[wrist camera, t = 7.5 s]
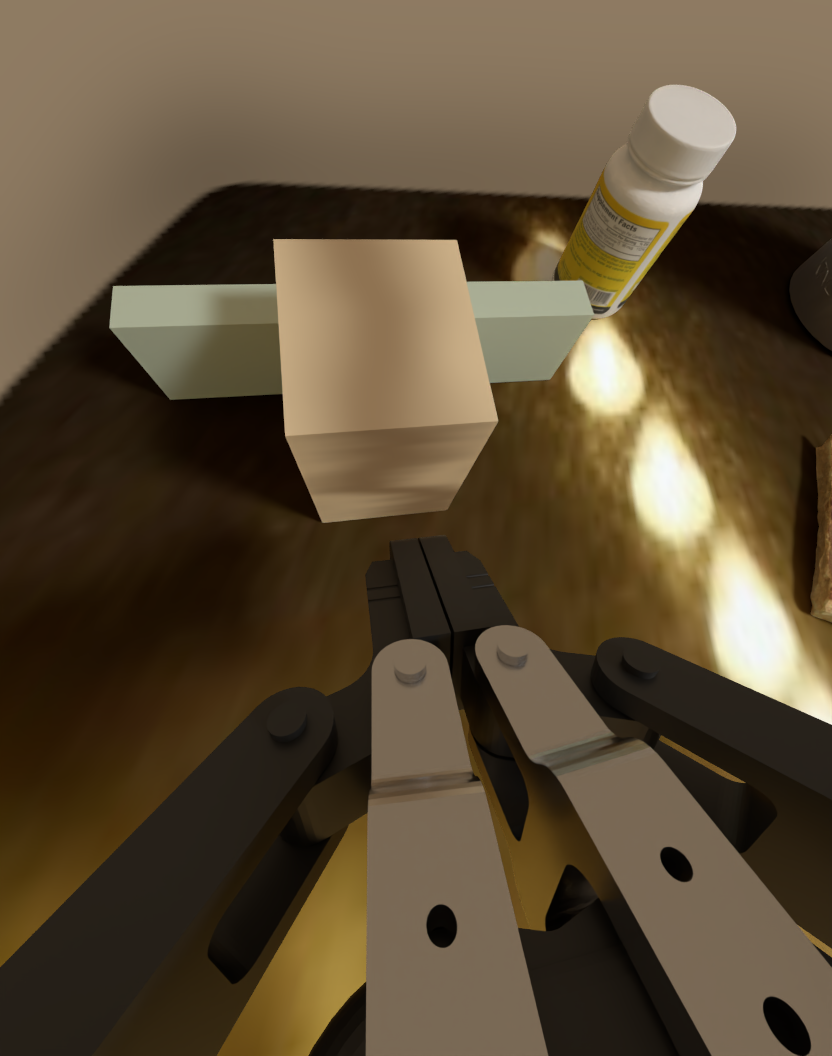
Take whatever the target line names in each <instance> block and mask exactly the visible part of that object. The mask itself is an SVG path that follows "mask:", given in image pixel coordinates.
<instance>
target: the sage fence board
mask: <svg viewBox="0 0 832 1056" xmlns="http://www.w3.org/2000/svg"><path fill="white" fill-rule="evenodd" d="M467 286H468V291H469V295H470V300H471V304H472V308H473V313H474V317H475V321H476V326H477V330H478V335H479V339H480V343H481V348H482V352H483V356H484V361H485V365H486V370H487V374H488V378H489V383H497V382H516V381H535V380H550V379H551V377H552V376H553V374H554V373H555V371H556V370H557V368H558V367H559V366H560V364H561V363H562V361H563V360H564V358H565V357H566V355H567V354H568V352H569V351H570V349H571V348H572V347H573V345H574V344H575V342H576V341H577V339H578V338H579V336H580V335H581V333H582V332H583V331H584V329H585V328H586V326H587V325H588V323H589V322H590V320H591V319H592V317H593V316H594V313H593V310H592V307H591V304H590V301H589V298H588V295H587V292H586V288H585V285H584V282H583V281H502V282H467ZM110 329H111V330H112V331H113V333H114V334H115V335H116V336H117V337H118V338H119V340H120V341H121V342H122V343H123V344H124V346H125V347H126V348H127V349H128V350H129V351H130V353H131V354H132V355H133V356H134V357H135V359H136V360H137V361H138V362H139V363H140V364H141V366H142V367H143V368H144V369H145V370H146V372H147V373H148V374H149V375H150V376H151V377H152V379H153V380H154V381H155V382H156V383H157V385H158V386H159V387H160V388H161V389H162V390H163V392H164V393H165V394H166V395H167V396H168V398H169V399H170V400H176V399H195V398H214V397H233V396H252V395H271V394H283V391H282V374H281V357H280V340H279V323H278V306H277V289H276V284H253V285H170V286H113V294H112V305H111V317H110Z"/></svg>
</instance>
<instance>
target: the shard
mask: <svg viewBox="0 0 832 1056" xmlns="http://www.w3.org/2000/svg"><path fill="white" fill-rule="evenodd" d="M816 472H817V483H818V515H817V518H818V524H819V530H818V541H817V548H816V563H815V571H814V576H813V585H812V592H811V595H810V599H811V602H812V609H811V615H812V616H815V617H817V618H820V619H823V620H827V621H829V622H831V623H832V434H831V435H830V437H829V439H828V440H827V441H826V442H825V443H824V444H823V446H821V447H818V448H816Z"/></svg>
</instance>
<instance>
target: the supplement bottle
mask: <svg viewBox="0 0 832 1056" xmlns="http://www.w3.org/2000/svg"><path fill="white" fill-rule="evenodd" d="M735 135H736V124H735V121H734V118H733V117H732V115H731V113H730V112H729V111H728V110H727V108H726V107H725V106H724V105H723V104H722V103H721V102H719V101H718V100H717V99H716V98H714V97H713V96H711V95H710V94H708V93H706V92H704V91H701V90H699V89H696V88H693V87H689V86H684V85H667V86H663V87H660V88H658V89H656V90H655V91H654V92H653V93H652V94H651V95H650V97H649V98H648V100H647V102H646V104H645V105H644V108H643V109H642V111H641V113H640V115H639V116H638V118H637V120H636V122H635V123H634V125H633V127H632V129H631V132H630V134H629V137H628V141H627V142H628V143H627V144H625V145H623V146H621V147H620V148H619V149H617V150H616V151H615V152H614V154H613V155H612V156H611V157H610V159H609V161H608V163H607V164H606V166H605V168H604V170H603V172H602V174H601V176H600V178H599V181H598V182H597V184H596V187H595V189H594V191H593V193H592V195H591V197H590V199H589V201H588V203H587V205H586V207H585V209H584V211H583V213H582V215H581V217H580V219H579V222H578V223H577V225H576V227H575V229H574V232H573V234H572V236H571V238H570V240H569V242H568V244H567V246H566V248H565V250H564V252H563V254H562V256H561V259H560V261H559V263H558V265H557V267H556V269H555V271H554V274H553V277H552V281H583V282H584V285H585V288H586V292H587V295H588V298H589V301H590V304H591V307H592V310H593V313H594V316H593V317H592V319H600V318H605V317H608V316H610V315H612V314H614V313H615V312H617V311H618V310H619V309H620V308H621V307H622V305H623V304H624V303H625V301H626V300H627V299H628V297H629V296H630V295H631V293H632V292H633V291H634V289H635V288H636V286H637V285H638V284H639V282H640V281H641V280H642V278H643V277H644V276H645V274H646V273H647V272H648V270H649V269H650V267H651V266H652V265H653V263H654V262H655V261H656V259H657V258H658V257H659V255H660V254H661V253H662V251H663V250H664V248H665V247H666V246H667V244H668V243H669V242H670V240H671V239H672V238H673V236H674V235H675V234H676V232H677V231H678V230H679V228H680V227H681V226H682V224H683V223H684V222H685V220H686V219H687V218H688V217H689V215H690V214H691V213H692V211H693V210H694V208H695V207H696V205H697V203H698V201H699V199H700V196H701V193H702V188H703V180H704V179H706V178H707V177H708V175H709V174H710V172H711V171H712V170H713V169H714V167H715V166H716V164H717V163H718V162H719V160H720V159H721V157H722V156H723V154H724V153H725V151H726V150H727V149H728V147H729V146H730V144H731V143H732V141H733V140H734V138H735Z"/></svg>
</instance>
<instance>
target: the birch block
mask: <svg viewBox="0 0 832 1056" xmlns="http://www.w3.org/2000/svg"><path fill="white" fill-rule="evenodd" d="M274 256H275V272H276V289H277V306H278V323H279V340H280V357H281V374H282V391H283V408H284V425H285V437H286V439H287V441H288V444H289V446H290V448H291V451H292V453H293V455H294V458H295V460H296V462H297V465H298V467H299V469H300V472H301V474H302V476H303V479H304V481H305V483H306V486H307V488H308V490H309V493H310V495H311V497H312V500H313V502H314V504H315V507H316V509H317V511H318V514H319V516H320V518H321V521H322V523H326V522H336V521H345V520H355V519H365V518H374V517H384V516H393V515H403V514H413V513H422V512H432V511H442V510H447V509H448V507H449V505H450V503H451V502H452V500H453V498H454V497H455V495H456V493H457V491H458V490H459V488H460V486H461V485H462V483H463V481H464V479H465V478H466V476H467V474H468V472H469V471H470V469H471V467H472V466H473V464H474V462H475V460H476V459H477V457H478V455H479V454H480V452H481V450H482V448H483V447H484V445H485V443H486V441H487V440H488V438H489V436H490V435H491V433H492V431H493V429H494V428H495V426H496V424H497V423H498V418H497V413H496V409H495V405H494V400H493V396H492V391H491V387H490V383H489V378H488V374H487V370H486V365H485V361H484V356H483V352H482V348H481V343H480V339H479V335H478V330H477V326H476V321H475V317H474V313H473V308H472V304H471V300H470V295H469V291H468V286H467V282H466V278H465V273H464V269H463V265H462V260H461V256H460V252H459V247H458V243H457V240H320V239H274Z"/></svg>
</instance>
